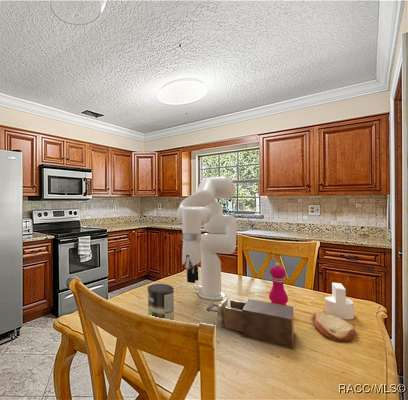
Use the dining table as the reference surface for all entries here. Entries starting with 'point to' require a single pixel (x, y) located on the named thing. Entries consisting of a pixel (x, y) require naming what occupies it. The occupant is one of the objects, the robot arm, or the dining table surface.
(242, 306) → the drawer
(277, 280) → the pepper mill
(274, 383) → the dining table surface
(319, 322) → the slice of bread
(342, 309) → the white stepped tower
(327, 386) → the dining table surface
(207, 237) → the robot arm
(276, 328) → the cabinet
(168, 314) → the coffee can
